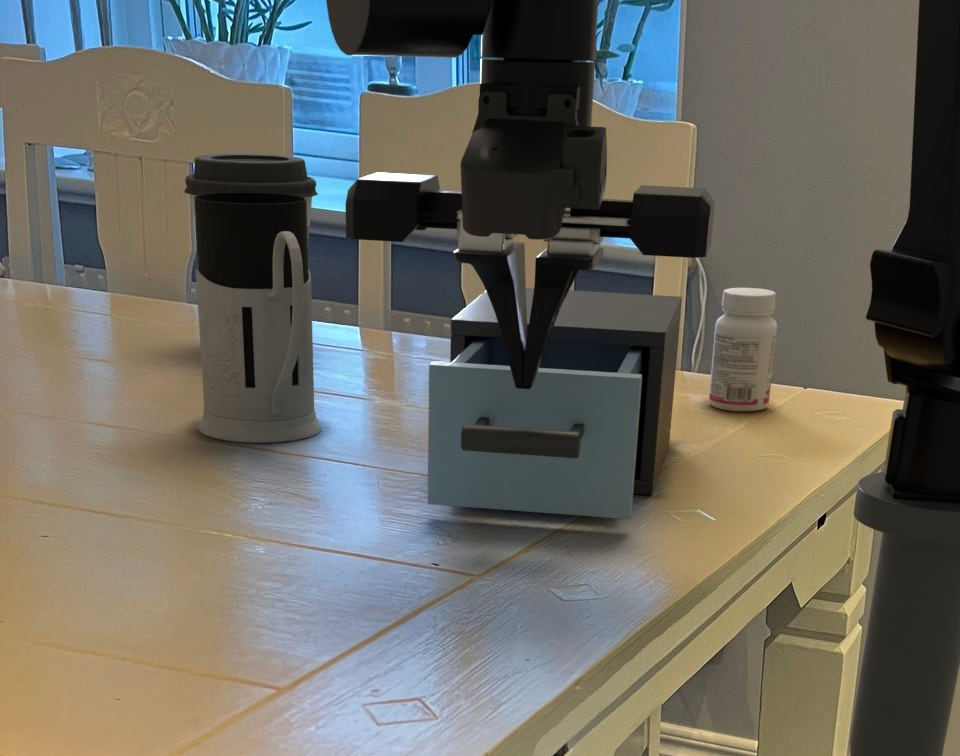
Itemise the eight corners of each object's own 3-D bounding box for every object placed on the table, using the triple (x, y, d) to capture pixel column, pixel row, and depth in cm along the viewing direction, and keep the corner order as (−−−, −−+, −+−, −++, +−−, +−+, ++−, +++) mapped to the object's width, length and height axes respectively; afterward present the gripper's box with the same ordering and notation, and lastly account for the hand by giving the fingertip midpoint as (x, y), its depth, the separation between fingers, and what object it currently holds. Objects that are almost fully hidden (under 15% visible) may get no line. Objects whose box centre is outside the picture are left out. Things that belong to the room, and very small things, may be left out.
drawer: (621, 541, 89) (632, 394, 85) (410, 525, 91) (411, 380, 87) (649, 465, 105) (659, 337, 100) (468, 452, 106) (471, 326, 102)
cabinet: (652, 495, 102) (665, 332, 97) (448, 480, 103) (450, 319, 98) (669, 443, 114) (682, 296, 109) (486, 431, 116) (491, 285, 111)
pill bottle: (736, 397, 129) (748, 284, 124) (780, 407, 126) (794, 293, 121) (695, 403, 126) (705, 289, 122) (739, 414, 123) (752, 297, 119)
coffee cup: (290, 363, 136) (284, 166, 128) (170, 352, 139) (157, 159, 131) (341, 341, 145) (338, 157, 137) (227, 331, 148) (218, 150, 140)
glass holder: (298, 411, 120) (292, 190, 112) (365, 455, 109) (362, 213, 101) (184, 419, 116) (169, 191, 109) (241, 465, 105) (228, 215, 98)
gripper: (313, 56, 74) (321, 406, 82) (717, 71, 71) (684, 431, 79) (369, 52, 83) (371, 367, 91) (728, 66, 81) (697, 388, 89)
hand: (524, 387), depth 87 cm, fingers closed
